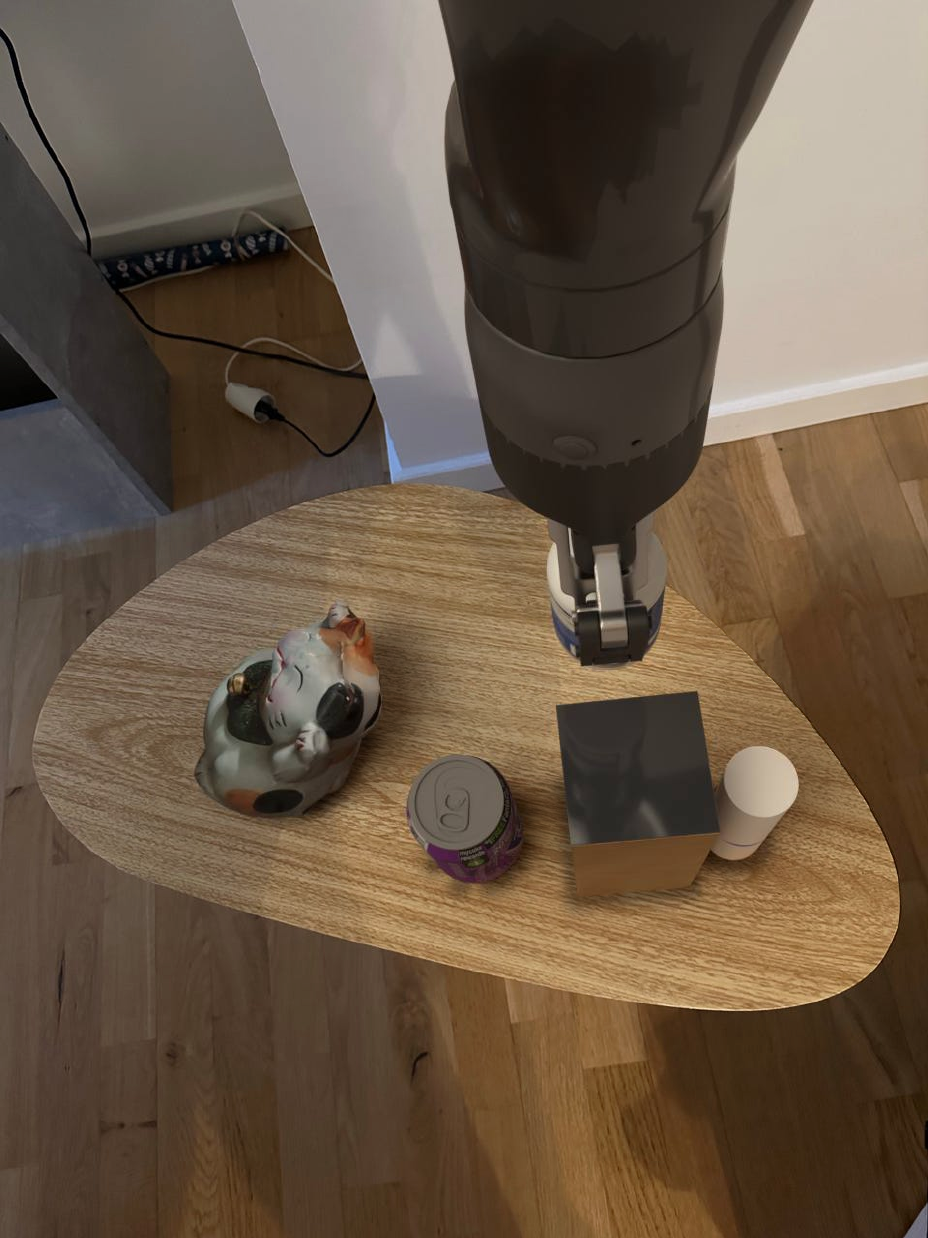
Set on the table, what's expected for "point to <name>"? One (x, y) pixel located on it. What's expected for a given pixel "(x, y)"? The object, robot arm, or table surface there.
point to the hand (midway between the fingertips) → (597, 580)
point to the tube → (752, 799)
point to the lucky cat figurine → (291, 719)
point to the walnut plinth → (639, 865)
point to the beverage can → (465, 818)
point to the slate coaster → (636, 769)
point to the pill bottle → (565, 603)
